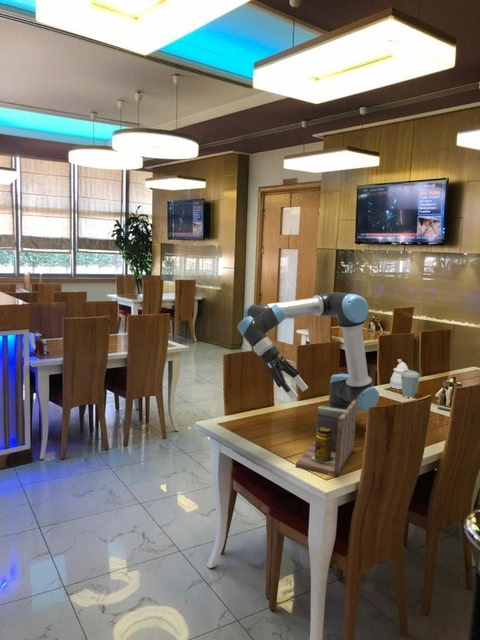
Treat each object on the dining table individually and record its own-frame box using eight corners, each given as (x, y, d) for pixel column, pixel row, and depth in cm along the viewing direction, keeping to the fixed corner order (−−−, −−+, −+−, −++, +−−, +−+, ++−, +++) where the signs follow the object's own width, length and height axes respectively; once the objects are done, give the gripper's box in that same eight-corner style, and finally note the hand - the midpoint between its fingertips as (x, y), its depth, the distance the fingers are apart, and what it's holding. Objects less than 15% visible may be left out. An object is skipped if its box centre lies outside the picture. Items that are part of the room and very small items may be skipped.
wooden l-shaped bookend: (315, 442, 212) (319, 393, 209) (353, 450, 206) (357, 400, 203) (295, 466, 187) (299, 411, 184) (337, 476, 180) (342, 419, 177)
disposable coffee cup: (420, 399, 286) (422, 374, 284) (401, 398, 286) (404, 373, 284) (414, 394, 297) (416, 370, 295) (396, 393, 297) (398, 369, 295)
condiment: (310, 458, 191) (312, 428, 190) (321, 452, 198) (323, 423, 196) (326, 464, 187) (329, 433, 185) (337, 457, 193) (339, 428, 192)
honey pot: (391, 389, 306) (393, 361, 303) (388, 384, 318) (390, 357, 316) (412, 391, 304) (415, 363, 301) (409, 386, 316) (411, 358, 314)
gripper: (271, 351, 209) (302, 391, 205) (247, 362, 186) (283, 407, 182) (283, 340, 206) (316, 381, 202) (261, 350, 184) (297, 395, 180)
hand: (300, 393), depth 192 cm, fingers open, 13 cm apart
